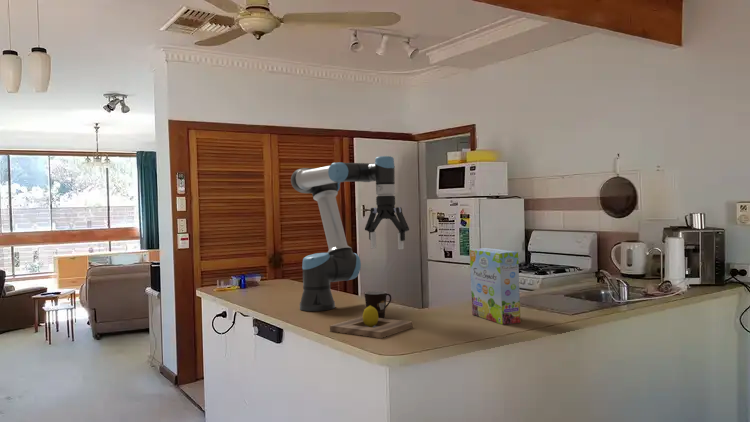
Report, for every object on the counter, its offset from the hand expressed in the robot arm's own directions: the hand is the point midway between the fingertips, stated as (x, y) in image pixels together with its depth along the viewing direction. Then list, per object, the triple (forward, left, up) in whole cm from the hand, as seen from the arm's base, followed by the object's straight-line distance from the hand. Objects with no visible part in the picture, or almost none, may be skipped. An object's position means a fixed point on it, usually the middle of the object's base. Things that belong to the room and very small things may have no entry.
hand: (387, 248), depth 225 cm
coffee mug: (+1, -8, -26) cm, 27 cm away
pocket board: (+10, -26, -26) cm, 38 cm away
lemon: (+10, -25, -26) cm, 38 cm away
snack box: (+40, +11, -26) cm, 49 cm away
